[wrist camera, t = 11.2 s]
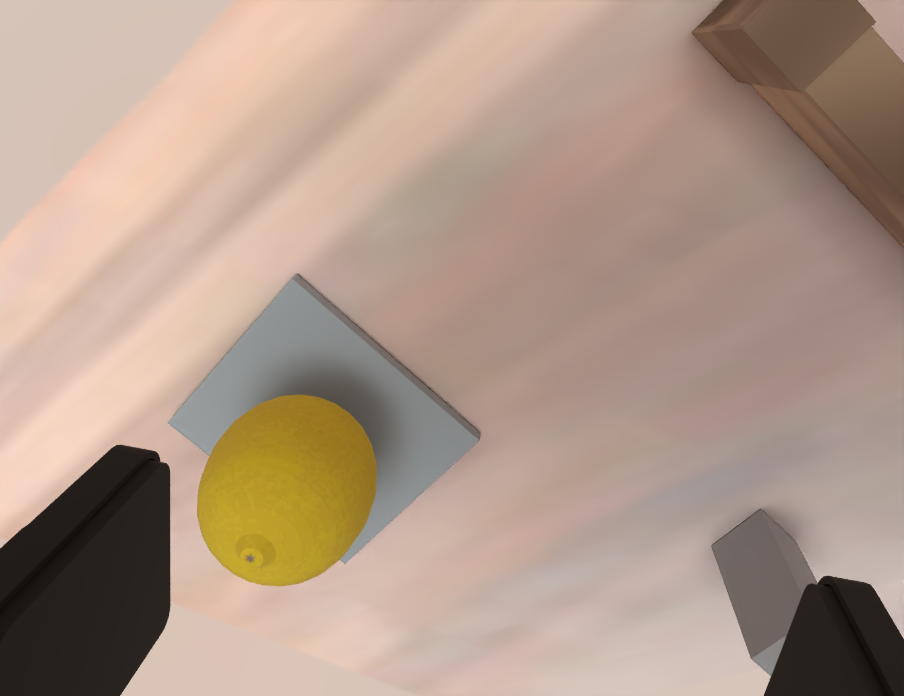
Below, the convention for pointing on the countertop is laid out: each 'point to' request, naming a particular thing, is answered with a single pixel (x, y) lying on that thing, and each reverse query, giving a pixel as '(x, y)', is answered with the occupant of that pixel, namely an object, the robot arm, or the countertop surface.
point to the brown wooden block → (824, 87)
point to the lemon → (287, 490)
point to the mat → (333, 396)
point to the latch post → (763, 583)
